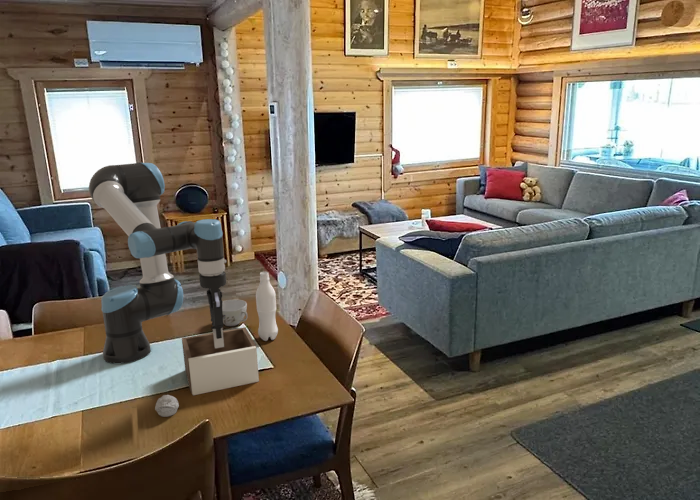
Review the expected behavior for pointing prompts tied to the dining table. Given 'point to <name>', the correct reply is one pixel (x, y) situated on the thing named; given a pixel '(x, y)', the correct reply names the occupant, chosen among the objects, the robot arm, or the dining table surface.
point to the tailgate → (223, 370)
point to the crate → (205, 345)
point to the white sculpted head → (166, 405)
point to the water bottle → (266, 308)
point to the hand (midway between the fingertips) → (219, 346)
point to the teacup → (234, 312)
